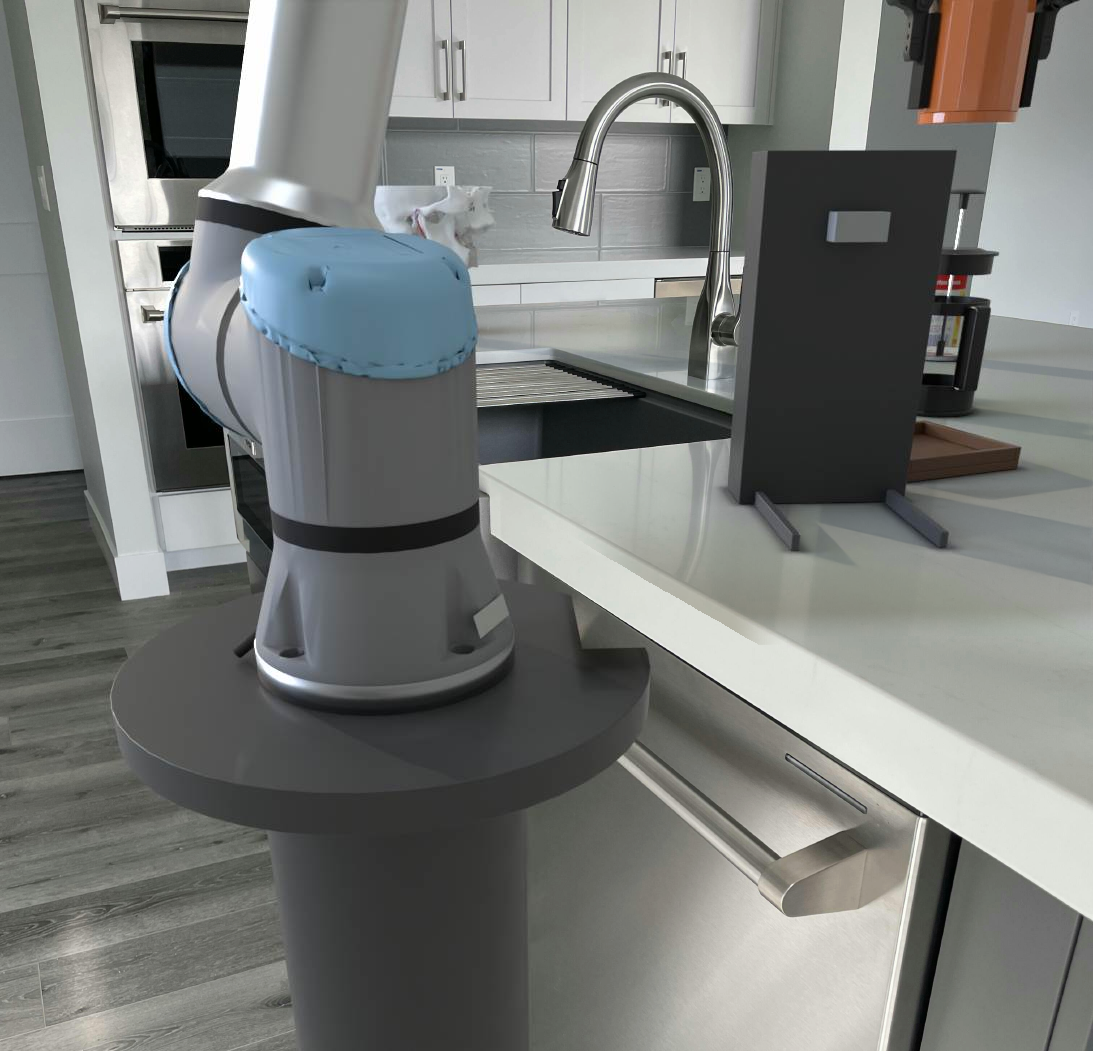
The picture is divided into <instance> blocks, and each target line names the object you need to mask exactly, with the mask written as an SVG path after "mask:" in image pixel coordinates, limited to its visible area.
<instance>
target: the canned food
mask: <svg viewBox="0 0 1093 1051" xmlns="http://www.w3.org/2000/svg"><path fill="white" fill-rule="evenodd" d="M949 281H950V275H938V279H937V286H936V292H935V295H947V293H948V287H949ZM967 282H968V276H957V275H954V277H953V283H952V290H951V295H953V296H966V295H965V294H966V289H967ZM943 319H944V316H935V315H932V319H931V325H930V332H929V338H928V345H927V346H937V342H938V341H939V340H940V338H941V331H942V325H943ZM961 320H962V316H947V321H946V327H945V334H944V341H945V347H956V348H957V344H958V338H959V331H960V326H961Z"/></svg>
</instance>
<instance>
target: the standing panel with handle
mask: <svg viewBox="0 0 1093 1051" xmlns="http://www.w3.org/2000/svg"><path fill="white" fill-rule="evenodd" d="M957 153H958V150H957V149H861V150H860V149H829V150H828V149H826V150H825V149H824V150H823V149H821V150H820V149H817V150H816V149H815V150H814V149H811V150H810V149H808V150H807V149H805V150H804V149H801V150H800V149H799V150H798V149H797V150H796V149H795V150H794V149H793V150H791V149H790V150H788V149H787V150H786V149H785V150H784V149H781V150H778V149H773V150H772V149H771V150H756V151H752V153H751V154H752V156H751V166H750V178H749V179H750V180H749V191H748V192H749V193H748V194H749V195H748V207H747V220H746V232H745V247H744V260H743V272H742V284H741V285H742V286H741V299H740V313H739V324H738V325H739V326H738V337H737V338H738V339H737V340H738V341H737V353H736V365H735V380H734V393H733V406H732V416H731V417H732V418H731V419H732V420H731V431H730V444H729V448H730V449H729V458H728V470H727V471H728V472H727V483H726V484H727V486H726V489H727V490H728V491H729V493H730V494H731V495H732V497H733V498H734V500H735V501H736V502H737V503H738V504H739V505H754V507H755V508H756V509H757V511H758V512H759V513H760V514H761V516H763V518H764V519H765V520H766V522H767V523H768V524H769V525H770V526H771V527H772V529H773V530H774V531H775V532H776V534H777V535H778V537H780V538H781V540H782V541H783V542H784V543H785V545H786V546H787V547H788V548H789V549H790V551H799V550H800V544H801V543H800V542H801V534H800V532H798V530H797V529H796V528H795V527H794V526H793V524H791V522H790V521H789V520H788V519H787V517H785V516H784V514H783V513H782V512H781V511H780V510H779V509H778V507H777V506H776V505H775V504H821V503H822V504H825V503H826V504H829V503H830V504H831V503H833V504H834V503H876V502H877V503H884V504H885V505H887V506H888V507H889V508H890V509H891V510H892V511H893V512H895V513H896V514H897V515H899V516H900V517H901V518H902V519H903V520H905V521H906V522H907V523H908V524H910V525H911V526H912V527H913V528H914V529H915V530H916V531H918V532H919V533H921V534H922V535H923V536H924V537H925V538H927V540H929V541H930V542H931V543H933V544H934V545H935V546H936V547H938V548H939V549H941V548H944V549H945V548H947V546H948V539H949V535H950V531H948V530H947V529H946V528H944V527H943V526H942V525H941V524H939V523H938V522H937V521H935V519H933V518H932V517H930V516H929V515H927V514H926V513H925V511H922V510H921V509H920V508H919V507H918V506H916V505H915V504H913V503H912V502H911V501H909V500H908V499H906V498H905V495H906V489H907V483H908V482H907V476H908V470H909V463H910V457H911V450H912V444H913V437H914V430H915V424H916V421H917V417H918V415H917V411H918V404H919V398H920V391H921V384H922V378H923V373H924V371H925V364H926V361H925V358H926V352H927V345H928V338H929V332H930V325H931V319H932V312H933V306H934V299H935V292H936V286H937V279H938V273H939V266H940V260H941V253H942V247H944V239H945V233H946V226H947V220H948V215H949V214H948V213H949V207H950V200H951V195H952V194H951V190H952V187H953V180H954V173H955V167H956V162H957Z"/></svg>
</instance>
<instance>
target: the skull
mask: <svg viewBox="0 0 1093 1051" xmlns="http://www.w3.org/2000/svg"><path fill="white" fill-rule="evenodd" d="M492 191H493V186H487V185H482V186H481V185H480V186H479V185H377V188H376V194H375V200H374V208H375V214H376V216H377V218H378V219H379V221H380V223H381V224H382V226H383V228H384V229H385V231H386V233H404V234H409V235H414V236H419V237H422V238H426V239H430V240H433V241H435V242H438V243H440V244H442V245H444V246H446V247H448V248H450V249H452V250H453V251H454V252H455V253H457V254H458V255H459V257H460V258H461V259H462V260H463V262H464V263H465V265H466V267H467V269H468V270H470V269H471V268H479V266H480V254H481V253H480V252H481V250H480V249H479V248H478V247H477V246H475V245H474V243H473V236H476V237H479V236H481V235H483V234H487V233H489V231H491V229H494V228H496V227H497V226H498V223H497V221H496V220H495V218H494V215H493V214H494V212H495V210H492V209H490V206H489V196H490V194H491V192H492Z"/></svg>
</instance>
